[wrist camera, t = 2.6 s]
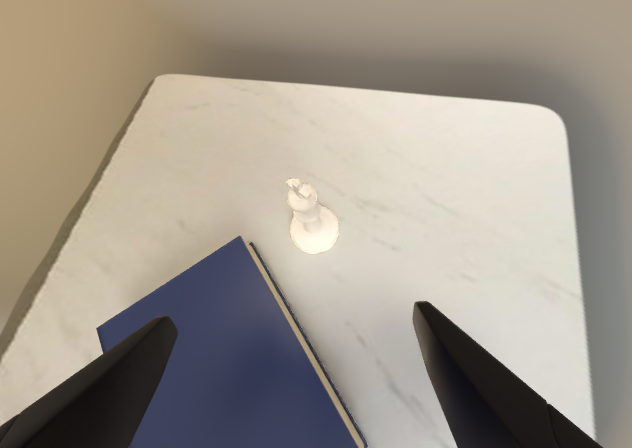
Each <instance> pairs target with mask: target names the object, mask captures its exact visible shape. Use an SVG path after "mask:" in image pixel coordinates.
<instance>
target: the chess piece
mask: <svg viewBox="0 0 632 448" xmlns="http://www.w3.org/2000/svg"><path fill="white" fill-rule="evenodd" d="M286 185H287V186H288V187H289V188H291V189H290V190H289V192H288V195H287V202H288V204H289V206H290V207H291V208H292V209H293V214H294V217H293V219H292V221H291V224H290V234H291V238H292V240H293V242H294V244H295V245H296V246H297V247H298V248H299V249H300V250H302V251H304V252H306V253H310V254H318V253H322V252H325V251H327V250H328V249H330V248H331V247H332V246H333V245H334V244H335V242H336V241H337V239H338V236H339V223H338V220H337V218H336V217H335V215H334V214H333V212H332V211H330V210H329V209H328V208H326V207H323V206H320V204H319V203H318V201H317V194H316V191H315V189H314V188H313V187H312V186H310V185H308V184H304V183H302V182H301V181H300V180H298V179H297V178H295V179H294V180H293V179H291V178H289V179H288V180H287V182H286Z"/></svg>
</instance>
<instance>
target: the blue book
mask: <svg viewBox="0 0 632 448" xmlns="http://www.w3.org/2000/svg"><path fill="white" fill-rule="evenodd" d="M158 316H169V317H170V318H171V319H172V321H173V322H174V324H175V326H176V327H177V329H178V336H177V339H176V342H175V344H174V347H173V350H172V352H171V355H170V358H169V360H168V363H167V365H166V368H165V371H164V373H163V376H162V378H161V381H160V383H159V385H158V387H157V389H156V391H155V394H154V396H153V398H152V400H151V402H150V404H149V406H148V408H147V410H146V412H145V415H144V417H143V419H142V421H141V423H140V425H139V427H138V429H137V431H136V433H135V435H134V438H133V440H132V442H131V444H130V446H129V448H367V447H368V445H367V443H366V441H365V439H364V438H363V436H362V434H361V432H360V431H359V429H358V427H357V425H356V424H355V422H354V420H353V418H352V417H351V415H350V413H349V411H348V410H347V408H346V406H345V404H344V403H343V401H342V399H341V397H340V396H339V394H338V392H337V390H336V389H335V387H334V385H333V383H332V382H331V380H330V378H329V376H328V375H327V373H326V371H325V369H324V368H323V366H322V364H321V362H320V361H319V359H318V357H317V355H316V354H315V352H314V350H313V348H312V347H311V345H310V343H309V341H308V340H307V338H306V336H305V334H304V333H303V331H302V329H301V327H300V326H299V324H298V322H297V320H296V319H295V317H294V315H293V313H292V312H291V310H290V308H289V306H288V305H287V303H286V301H285V299H284V298H283V296H282V294H281V292H280V291H279V289H278V287H277V285H276V284H275V282H274V280H273V278H272V277H271V275H270V273H269V271H268V270H267V268H266V266H265V264H264V263H263V261H262V259H261V257H260V256H259V254H258V252H257V250H256V249H255V247H254V245H253V243H249V244H247V243H245V242H244V241H243V239H242V237H241V236H238V237H237V238H235V239H234V240H232V241H231V242H229V243H228V244H226V245H224V246H223V247H221V248H220V249H218V250H217V251H215V252H214V253H212V254H211V255H209V256H207V257H206V258H204V259H203V260H201V261H200V262H198V263H197V264H195V265H193V266H192V267H190V268H189V269H187V270H186V271H184V272H183V273H181V274H180V275H178V276H176V277H175V278H173V279H172V280H170V281H169V282H167V283H166V284H164V285H163V286H161V287H159V288H158V289H156V290H155V291H153V292H152V293H150V294H149V295H147V296H146V297H144V298H142V299H141V300H139V301H138V302H136V303H135V304H133V305H132V306H130V307H129V308H127V309H125V310H124V311H122V312H121V313H119V314H118V315H116V316H115V317H113V318H111V319H110V320H108V321H107V322H105V323H104V324H102V325H101V326H99V327H98V328H96V329H97V332H98V336H99V340H100V343H101V347H102V351H103V354H104V353H105V352H107V351H108V350H110V349H111V348H112V347H114V346H115V345H117V344H118V343H120V342H121V341H122V340H124V339H125V338H127V337H128V336H130V335H131V334H132V333H134V332H135V331H137V330H138V329H139V328H141V327H142V326H144V325H145V324H147V323H148V322H149V321H151V320H152V319H154V318H155V317H158Z"/></svg>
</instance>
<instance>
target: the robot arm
mask: <svg viewBox="0 0 632 448" xmlns="http://www.w3.org/2000/svg"><path fill="white" fill-rule="evenodd" d="M413 325H414V329H415V332H416V335H417V339H418V342H419V346H420V349H421V353H422V356H423V359H424V363H425V366H426V369H427V372H428V375H429V378H430V380H431V383H432V385H433V388H434V390H435V393H436V395H437V398H438V400H439V403H440V405H441V408H442V410H443V412H444V415H445V417H446V420H447V422H448V425H449V427H450V430H451V432H452V435H453V437H454V440H455V442H456V445H457V447H458V448H603V447H602V446H600V445H599V444H598V443H597V442H595V441H594V440H593V439H592V438H591V437H589V436H588V435H587V434H586V433H584V432H583V431H582V430H581V429H580V428H578V427H577V426H576V425H575V424H573V423H572V422H571V421H570V420H569V419H567V418H566V417H565V416H564V415H563V414H561V413H560V412H559V411H558V410H557V409H555V408H554V407H553V406H552V405H551V404H547V402H546V400H545V399H543V398H542V397H541V396H540V395H539V394H537V393H536V392H535V391H534V390H533V389H532V388H530V387H529V386H528V385H527V384H526V383H524V382H523V381H522V380H521V379H520V378H518V377H517V376H516V375H515V374H514V373H513V372H511V371H510V370H509V369H508V368H507V367H505V366H504V365H503V364H502V363H501V362H499V361H498V360H497V359H496V358H495V357H493V356H492V355H491V354H490V353H489V352H488V351H486V350H485V349H484V348H483V347H482V346H480V345H479V344H478V343H477V342H476V341H474V340H473V339H472V338H471V337H470V336H469V335H467V334H466V333H465V332H464V331H463V330H461V329H460V328H459V327H458V326H457V325H455V324H454V323H453V322H452V321H451V320H450V319H448V318H447V317H446V316H445V315H444V314H442V313H441V312H440V311H439V310H438V309H436V308H435V307H434V306H433V305H432V304H431V303H429V302H427V301H418V302H415V304H414V310H413ZM177 336H178V329H177V327H176V326H175V324H174V322H173V321H172V319H171V318H170V317H169V316H158V317H155V318H154V319H152V320H151V321H149V322H148V323H147V324H145V325H144V326H142V327H141V328H139V329H138V330H137V331H135V332H134V333H132V334H131V335H130V336H128V337H127V338H125V339H124V340H122V341H121V342H120V343H118V344H117V345H115V346H114V347H112V348H111V349H110V350H108V351H107V352H105V353H104V354H103V355H101V356H100V357H98V358H97V359H95V360H94V361H93V362H91V363H90V364H88V365H87V366H86V367H84V368H83V369H81V370H80V371H78V372H77V373H76V374H74V375H73V376H71V377H70V378H68V379H67V380H66V381H64V382H63V383H61V384H60V385H59V386H57V387H56V388H54V389H53V390H51V391H50V392H49V393H47V394H46V395H44V396H43V397H42V398H40V399H39V400H37V401H36V402H34V403H33V404H32V405H30V406H29V407H27V408H26V409H24V410H23V411H22V412H21V413H20V414H18V415H16V416H14V417H13V418H12V419H10V420H9V421H7V422H6V423H5V424H3V425H2V426H0V448H129V446H130V444H131V442H132V440H133V438H134V435H135V433H136V431H137V429H138V427H139V425H140V423H141V421H142V419H143V417H144V415H145V412H146V410H147V408H148V406H149V404H150V402H151V400H152V398H153V396H154V394H155V391H156V389H157V387H158V385H159V383H160V381H161V378H162V376H163V373H164V371H165V368H166V365H167V363H168V360H169V358H170V355H171V352H172V350H173V347H174V344H175V342H176V339H177Z"/></svg>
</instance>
